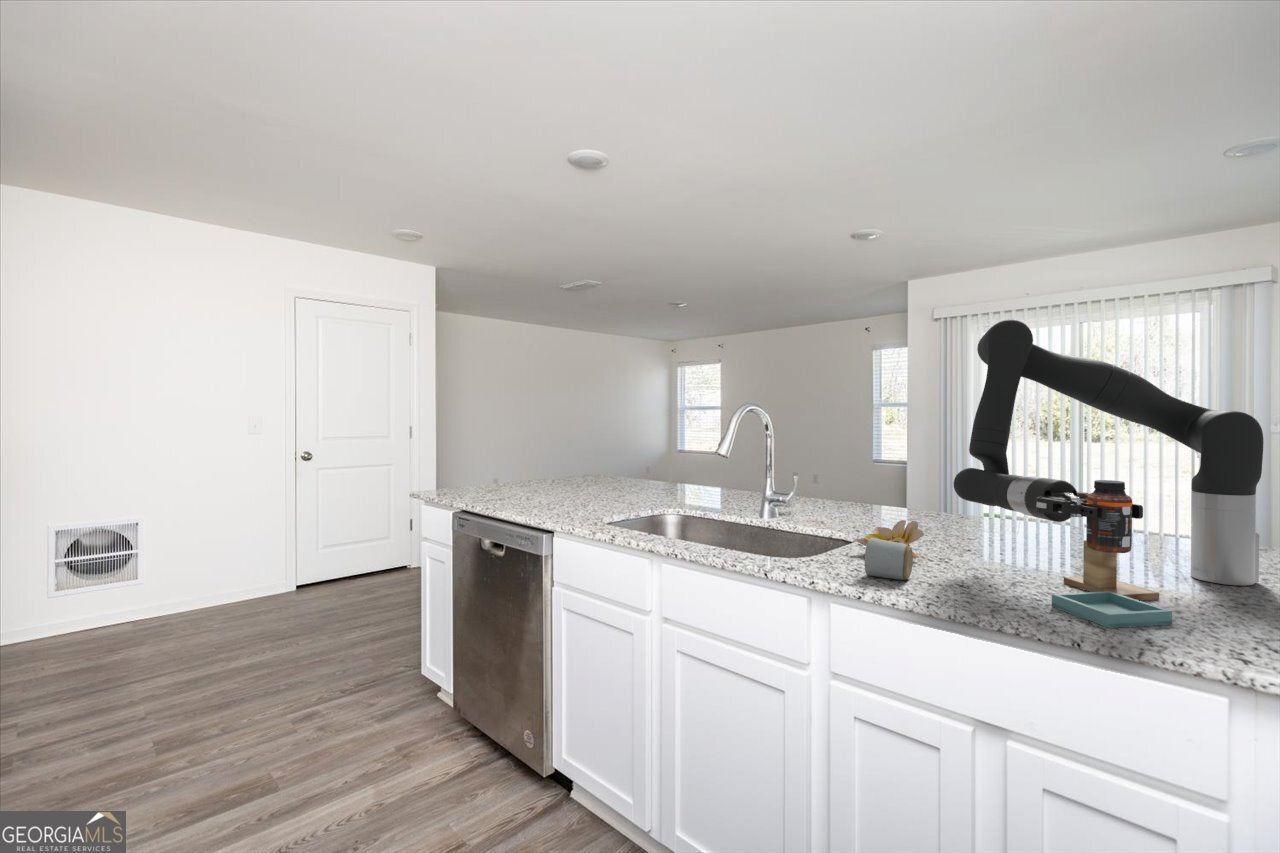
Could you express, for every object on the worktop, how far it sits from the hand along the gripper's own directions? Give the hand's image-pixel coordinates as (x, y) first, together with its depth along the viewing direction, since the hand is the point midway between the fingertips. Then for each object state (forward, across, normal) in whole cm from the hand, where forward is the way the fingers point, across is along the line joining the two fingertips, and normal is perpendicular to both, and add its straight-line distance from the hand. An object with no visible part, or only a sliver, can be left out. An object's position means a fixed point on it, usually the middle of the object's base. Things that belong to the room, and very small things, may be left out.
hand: (1122, 512), depth 99 cm
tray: (-2, 0, +17) cm, 17 cm away
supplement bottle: (-2, 0, +7) cm, 7 cm away
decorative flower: (-47, -13, +18) cm, 52 cm away
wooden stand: (-14, +12, +17) cm, 25 cm away
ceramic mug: (-31, -22, +18) cm, 42 cm away
